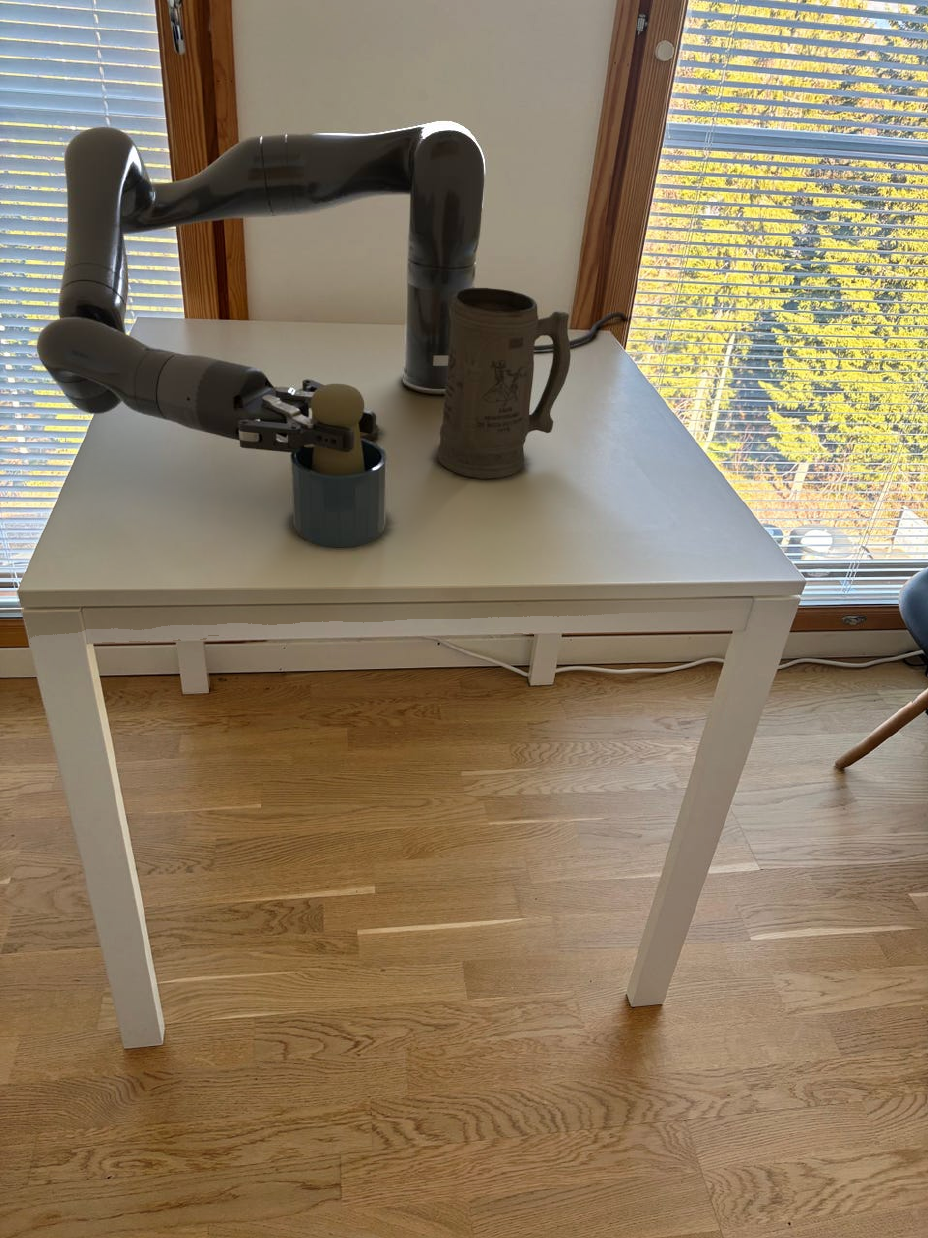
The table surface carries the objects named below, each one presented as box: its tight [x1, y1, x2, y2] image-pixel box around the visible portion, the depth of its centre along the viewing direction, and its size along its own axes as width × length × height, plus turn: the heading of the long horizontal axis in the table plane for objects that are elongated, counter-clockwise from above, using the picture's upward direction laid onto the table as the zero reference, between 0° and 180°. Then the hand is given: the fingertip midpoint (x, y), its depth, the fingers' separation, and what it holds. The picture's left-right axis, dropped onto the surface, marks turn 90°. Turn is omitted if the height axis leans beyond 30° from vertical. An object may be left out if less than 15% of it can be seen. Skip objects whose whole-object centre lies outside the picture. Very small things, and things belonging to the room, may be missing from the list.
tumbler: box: [289, 439, 388, 548], centre depth 94 cm, size 10×10×8 cm
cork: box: [310, 383, 365, 475], centre depth 91 cm, size 6×6×11 cm
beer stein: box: [437, 287, 572, 479], centre depth 107 cm, size 15×11×20 cm
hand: (362, 432), depth 89 cm, fingers closed on cork, 4 cm apart
